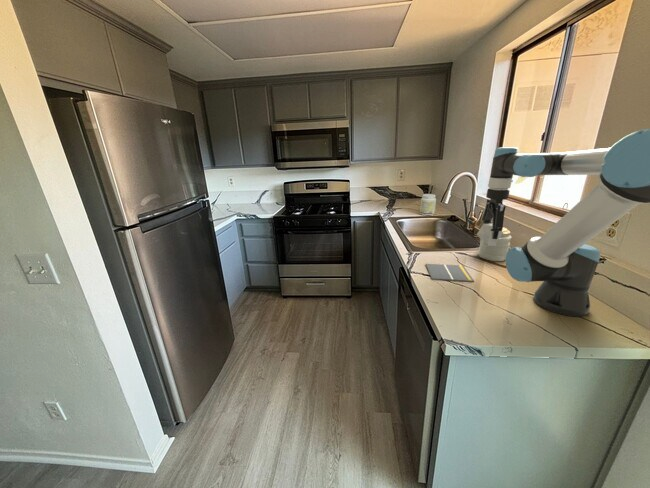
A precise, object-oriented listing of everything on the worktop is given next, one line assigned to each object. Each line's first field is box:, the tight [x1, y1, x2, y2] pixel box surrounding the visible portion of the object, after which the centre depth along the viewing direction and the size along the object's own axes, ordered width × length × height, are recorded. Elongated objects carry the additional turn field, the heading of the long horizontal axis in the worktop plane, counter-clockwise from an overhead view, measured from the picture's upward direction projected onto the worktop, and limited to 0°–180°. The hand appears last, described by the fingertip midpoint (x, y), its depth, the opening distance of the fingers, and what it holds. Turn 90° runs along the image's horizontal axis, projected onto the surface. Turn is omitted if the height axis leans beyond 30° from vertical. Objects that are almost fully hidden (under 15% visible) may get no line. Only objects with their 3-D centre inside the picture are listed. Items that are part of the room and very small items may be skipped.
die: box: [476, 223, 503, 243], centre depth 112 cm, size 8×9×10 cm
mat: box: [425, 263, 475, 283], centre depth 122 cm, size 16×17×1 cm
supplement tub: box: [419, 193, 437, 216], centre depth 226 cm, size 12×12×17 cm
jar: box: [477, 227, 513, 262], centre depth 135 cm, size 13×13×18 cm
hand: (488, 241), depth 114 cm, fingers closed on die, 9 cm apart
